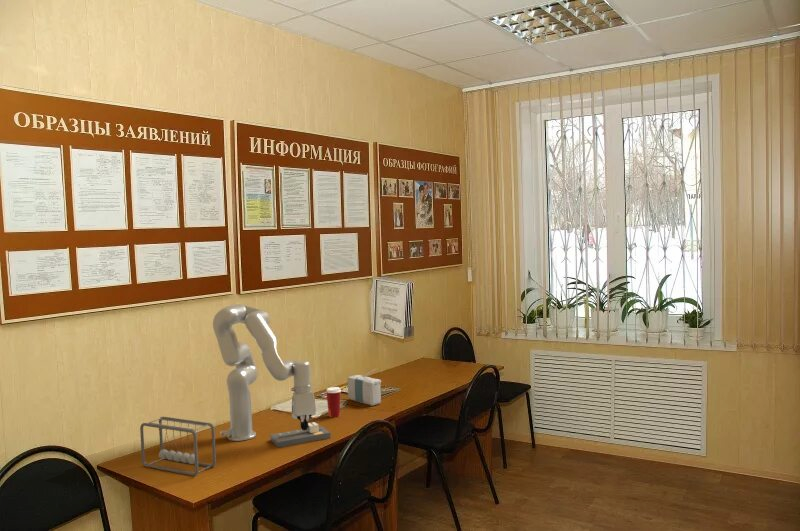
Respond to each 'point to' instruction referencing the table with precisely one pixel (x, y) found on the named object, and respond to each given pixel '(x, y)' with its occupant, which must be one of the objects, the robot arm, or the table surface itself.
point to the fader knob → (313, 427)
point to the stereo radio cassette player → (364, 389)
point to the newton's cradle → (178, 455)
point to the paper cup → (333, 401)
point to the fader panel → (298, 437)
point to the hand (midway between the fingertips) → (304, 429)
